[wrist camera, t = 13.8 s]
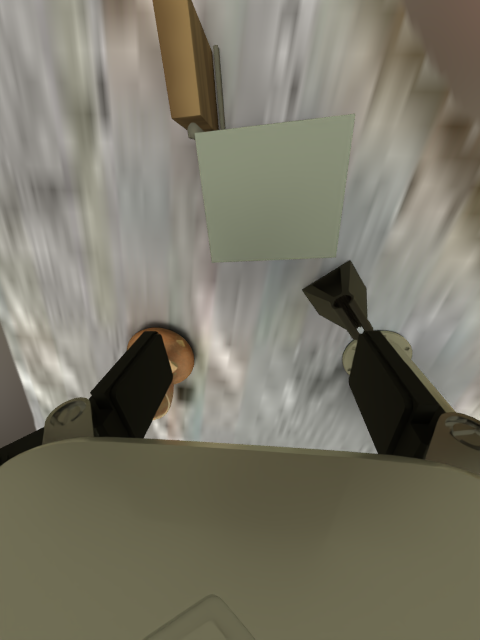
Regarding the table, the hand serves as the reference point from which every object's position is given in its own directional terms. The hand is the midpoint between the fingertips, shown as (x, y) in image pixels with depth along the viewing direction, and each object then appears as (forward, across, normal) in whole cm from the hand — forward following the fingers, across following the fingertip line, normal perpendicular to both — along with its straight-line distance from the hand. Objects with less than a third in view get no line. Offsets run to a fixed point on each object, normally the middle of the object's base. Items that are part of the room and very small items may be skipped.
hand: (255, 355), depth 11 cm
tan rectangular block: (+30, +7, -18) cm, 36 cm away
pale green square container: (+30, +1, -11) cm, 32 cm away
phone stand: (+31, -12, +9) cm, 34 cm away
